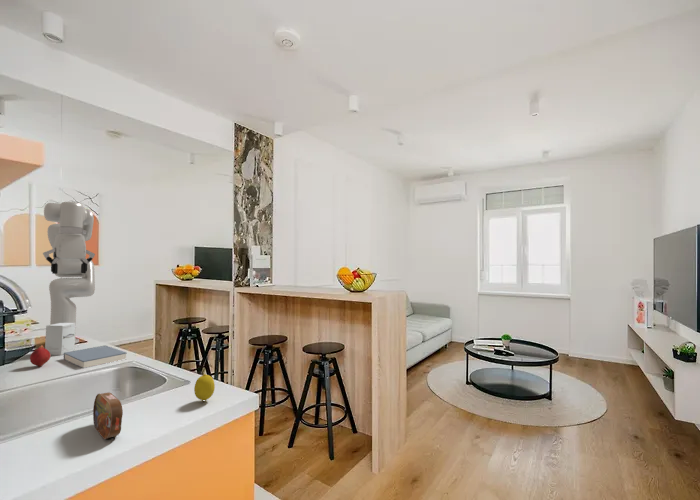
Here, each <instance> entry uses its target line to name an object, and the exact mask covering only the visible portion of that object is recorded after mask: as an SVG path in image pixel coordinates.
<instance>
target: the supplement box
mask: <svg viewBox="0 0 700 500" xmlns="http://www.w3.org/2000/svg"><path fill="white" fill-rule="evenodd" d="M76 323H77V322H76ZM76 323H57V324H52V325H50V324H48V325H46V326H45V337H46V338H45V340H44V341H45V344H44V348H45V349H47V350H48V351H49V352H50V355H51V356H62V355H64V353H65V352H71V351H75V346H76V345H75V344H76V343H75V338H76V330H75V324H76Z"/></svg>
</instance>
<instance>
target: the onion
mask: <svg viewBox="0 0 700 500" xmlns="http://www.w3.org/2000/svg"><path fill="white" fill-rule="evenodd" d="M51 356H52V355H50V352H49V351H48V350H47V349H45V347H44V345H40V346H38V348H36V349H35V350H33V351H32V352H31V354H30V356H29V361H30V362H31V364H32V365H34V366H36V367H39V368H41V367H42V366H44V365H45V364H46V363H48V362H49V361H50V359H51Z"/></svg>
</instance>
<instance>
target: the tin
mask: <svg viewBox="0 0 700 500" xmlns="http://www.w3.org/2000/svg"><path fill="white" fill-rule="evenodd" d="M93 401H94V403H93V411H92V412H93V413H92V416H93V418H92V419H93V421H92V422H93V426H94V429H95V430H96V431H97V432H98V433H99V435H100V436H101V437H102V439H104V440H107V439H110V438H114V437H117V436H119V435H120V433H121V431H122V422H123V421H122V420H123V415H124V414H123V410H124V409H123V405H122V402H121V401H120V400H119V398H117V397H116V396H115V395H114V394H113V392H102V393H97V394H96V396H95V399H94V400H93Z"/></svg>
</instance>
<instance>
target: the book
mask: <svg viewBox="0 0 700 500" xmlns="http://www.w3.org/2000/svg"><path fill="white" fill-rule="evenodd" d="M125 358H126V359H127V352H126V351H123V350H121V349H117V348H114V347H112V346H108V345H100V346H93V347H89V348H82V349H78V350H77V349H76V350H74V351H71V352H65V353H64V354H63V360H64V361H66V362H68V363H71V364H73V365H74V366H77V367H78V368H79V367H80V368H81V369H87V368H93V367H96V366H100V365H101V366H102V365H106V363H107V364H110V362H111V363H115V362H114V361H116V362H119V361H118V360H121V361H123V360H122V359H125ZM126 359H125V360H126Z"/></svg>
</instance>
